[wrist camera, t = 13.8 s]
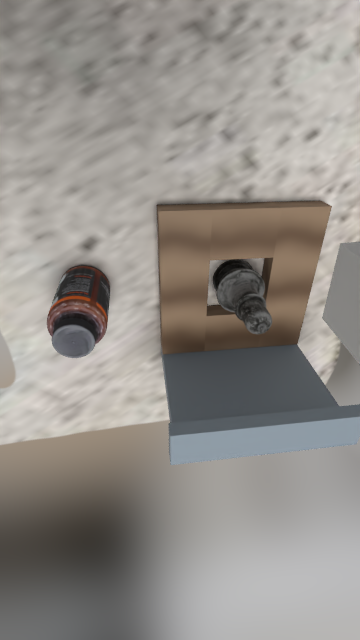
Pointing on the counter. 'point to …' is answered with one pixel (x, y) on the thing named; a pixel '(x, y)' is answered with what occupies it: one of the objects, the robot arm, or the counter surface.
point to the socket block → (236, 243)
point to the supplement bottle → (79, 311)
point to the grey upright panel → (251, 405)
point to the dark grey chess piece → (243, 294)
